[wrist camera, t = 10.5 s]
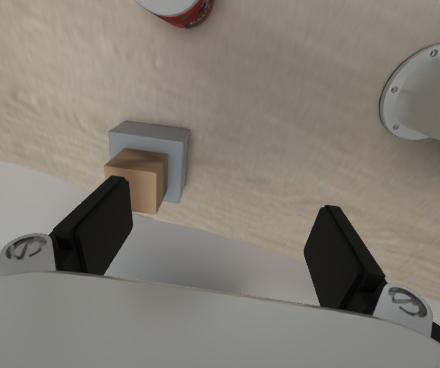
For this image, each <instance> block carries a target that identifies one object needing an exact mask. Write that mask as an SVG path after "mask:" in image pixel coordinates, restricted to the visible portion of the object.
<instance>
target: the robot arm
mask: <svg viewBox="0 0 440 368" xmlns="http://www.w3.org/2000/svg"><path fill="white" fill-rule="evenodd" d="M380 117H381V120H382V123H383V124H384V126H385V127H386V129H387V130H388V131H389V132H391V133H392V134H394V135H396V136H398V137H400V138H403V139H408V140H421V139H426V138H430V137H432V138H434V139H437V140H439V141H440V44H436V45H432V46H430V47H427V48H425V49H423V50H421V51H419V52H417V53H416V54H414V55H413V56H411V57H410V58H409V59H407V60H406V61H405V62H404V63H403V64H402V65H401V66H400V67H399V68H398V69H397V70H396V71H395V72H394V74H393V75H392V77H391V78H390V79H389V81H388V83H387V85H386V87H385V89H384V91H383V94H382V97H381V102H380ZM132 227H133V220H132V208H131V198H130V187H129V181H128V180H126V179H125V177H122V176H115V175H111V176H110V177H109V178H108V179H107V180H106V181H105V182H103V183H102V184H101V185H100V186H99V187H98V188H97V189H96V190H95V191H94V192H93V193H92V194H90V195H89V196H88V197H87V198H86V199H85V200H84V201H83V202H82V203H81V204H80V205H78V206H77V207H76V208H75V209H74V210H73V211H72V212H71V213H70V214H69V215H68V216H67V217H66V218H64V220H62V221H61V222H60V223H59V224H58V225H57V226H56V227H55V228H54V229H53V231H52V232H51V233H50V234H49V235H46V234H41V233H34V234H28V235H24V236H21V237H19V238H17V239H15V240H13V241H11V242H9V243H8V244H7V245H6V246H4V248H3V249H2V250H1V252H0V368H440V326H439V325H437V324H436V323H435V322H433V313H432V310H431V308H430V307H429V305H428V304H427V303H426V301H425V300H424V299H423V298H421V297H420V296H419V295H418V294H417V293H415V292H414V291H412V290H411V289H409V288H407V287H405V286H402V285H399V284H394V283H390V284H388V283H387V282H386V280H385V279H384V278H385V274H384V273H383V271H382V270H381V268H380V267H379V265H378V264H377V262H376V261H375V259H374V258H373V256H372V255H371V253H370V252H369V250H368V249H367V247H366V246H365V244H364V243H363V241H362V240H361V238H360V237H359V235H358V234H357V232H356V231H355V229H354V228H353V226H352V225H351V223H350V222H349V220H348V219H347V217H346V216H345V214H344V213H343V211H342V210H341V208H340V207H338V206H331V205H325V206H324V207H322V208H320V210H319V213H318V215H317V218H316V220H315V223H314V225H313V228H312V230H311V233H310V235H309V238H308V240H307V242H306V245H305V248H304V256H305V260H306V263H307V266H308V269H309V272H310V275H311V278H312V281H313V284H314V287H315V291H316V294H317V297H318V300H319V303H320V306H315V305H309V304H301V303H295V302H289V301H282V300H275V299H269V298H261V297H255V296H248V295H241V294H235V293H228V292H221V291H213V290H207V289H200V288H192V287H186V286H179V285H171V284H164V283H157V282H148V281H142V280H135V279H128V278H120V277H112V276H104V274H105V272H106V270H107V269H108V267H109V266H110V264H111V262H112V261H113V259H114V258H115V256H116V254H117V253H118V251H119V249H120V248H121V246H122V245H123V243H124V242H125V240H126V238H127V237H128V235H129V234H130V232H131V230H132Z"/></svg>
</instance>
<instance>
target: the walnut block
mask: <svg viewBox="0 0 440 368" xmlns="http://www.w3.org/2000/svg"><path fill="white" fill-rule="evenodd" d="M104 170H105V179H106V180H107V179H108V178H109V177H110V176H111V175H115V176H122V177H125V179H126V180H128V181H129V187H130V198H131V208H132V211H133V212H140V213H148V214H157V212H158V210H159V207H160V205H161V203H162V201H163V199H164V197H165V194H166V192H167V181H168V154H165V153H158V152H151V151H144V150H137V149H129V148H124V149H123V150H122V151H121V152H119V153H118V154H117V155H116V156H115V157H114V158H112V159H111V160H110V161H109V162H108V163H107V164H106V165H104Z"/></svg>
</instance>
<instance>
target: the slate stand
mask: <svg viewBox="0 0 440 368" xmlns="http://www.w3.org/2000/svg"><path fill="white" fill-rule="evenodd" d="M189 132H190V130H186V129H179V128H172V127H165V126H159V125H152V124H145V123H138V122H131V121H125V122H123V123H121V124H120V125H118V126H116V127H115V128H113V129H112V130H110V131H108V135H109V145H110V155H111V159H112V158H114V157H115V156H116V155H117V154H118V153H119V152H121V151H122V150H123V149H124V148H129V149H137V150H144V151H151V152H158V153H165V154H168V181H167V192H166V194H165V197H164V199H163V201H164V202H172V203H180V200H181V197H182V194H183V191H184V188H185V185H186V172H187V158H188V145H189Z"/></svg>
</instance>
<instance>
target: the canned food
mask: <svg viewBox="0 0 440 368" xmlns="http://www.w3.org/2000/svg"><path fill="white" fill-rule="evenodd" d="M135 1H136V2H137V3H139V4H140V5H141V6H142V7H143V8H145V9H146V10H148V11H149V12H151V13H152V14H154V15H156V16H158V17H159V18H161V19H163V20H165V21H167V22H168V23H170V24H172V25H174V26H177V27H179V28H192V27H195V26H198V25H199V24H201V23H202V22H203V21H204V20H205V19H206V18H207V17H208V15H209V13H210V12H211V9H212V7H213V3H214V0H135Z"/></svg>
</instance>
